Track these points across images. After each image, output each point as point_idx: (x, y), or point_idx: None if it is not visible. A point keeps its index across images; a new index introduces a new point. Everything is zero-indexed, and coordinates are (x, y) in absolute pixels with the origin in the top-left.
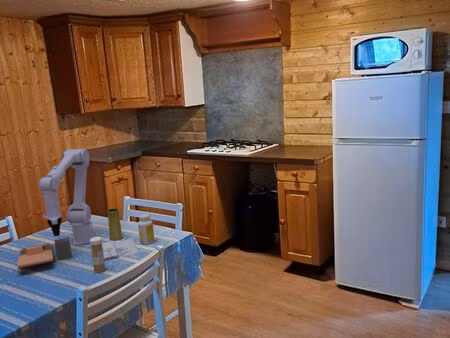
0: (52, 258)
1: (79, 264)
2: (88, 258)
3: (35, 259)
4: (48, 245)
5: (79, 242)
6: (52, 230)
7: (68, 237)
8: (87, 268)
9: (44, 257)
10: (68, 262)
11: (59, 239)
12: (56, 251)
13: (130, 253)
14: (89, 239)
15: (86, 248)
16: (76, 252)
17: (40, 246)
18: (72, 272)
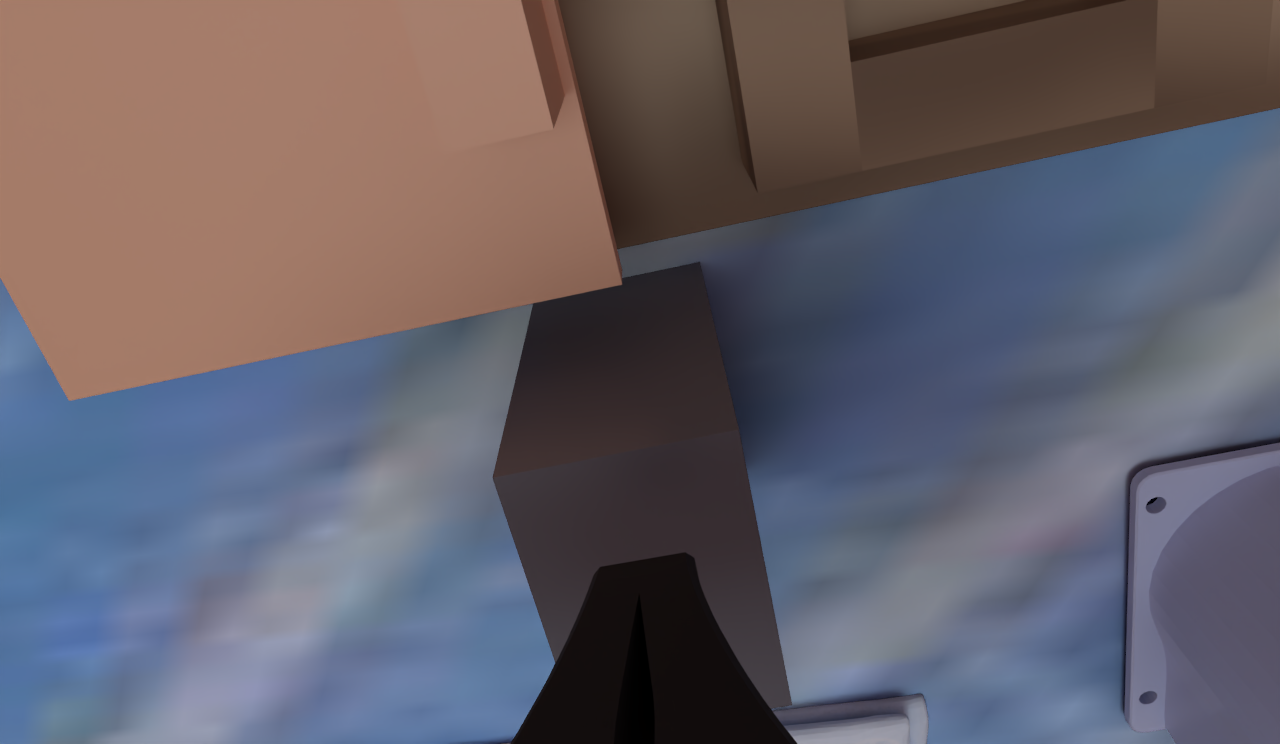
0: (83, 392)
1: (294, 625)
2: (486, 701)
3: (51, 18)
4: (1116, 90)
5: (1169, 555)
6: (530, 719)
7: (789, 696)
8: (139, 723)
9: (157, 215)
10: (407, 477)
11: (733, 540)
12: (522, 381)
13: None
14: (1180, 690)
15: (902, 640)
16: (797, 531)
17: (456, 103)
18: (21, 578)
